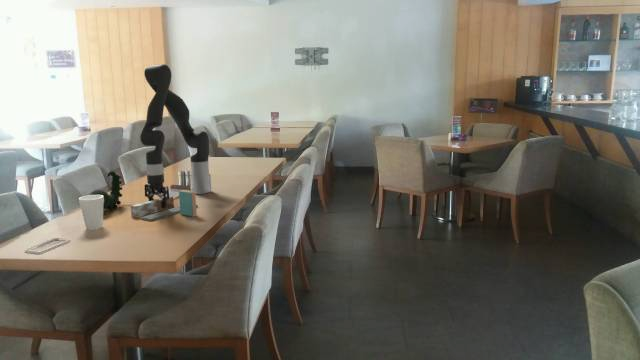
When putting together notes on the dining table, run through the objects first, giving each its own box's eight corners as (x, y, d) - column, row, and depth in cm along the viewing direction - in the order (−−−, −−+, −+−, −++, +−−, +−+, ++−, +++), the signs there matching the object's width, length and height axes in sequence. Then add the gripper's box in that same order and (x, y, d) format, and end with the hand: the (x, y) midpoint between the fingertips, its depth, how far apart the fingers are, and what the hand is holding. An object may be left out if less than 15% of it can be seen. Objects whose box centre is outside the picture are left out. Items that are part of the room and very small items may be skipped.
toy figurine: (110, 207, 254) (80, 216, 229) (108, 169, 252) (77, 174, 227) (128, 208, 252) (99, 217, 228) (126, 169, 250) (97, 175, 226)
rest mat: (188, 205, 249) (188, 203, 249) (197, 207, 246) (197, 205, 245) (141, 219, 226) (141, 217, 225) (150, 221, 222) (150, 219, 222)
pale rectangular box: (169, 205, 249) (168, 195, 248) (173, 206, 247) (173, 196, 246) (131, 216, 231) (130, 205, 230) (136, 217, 229) (135, 206, 228)
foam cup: (111, 225, 217) (108, 195, 215) (95, 231, 209) (92, 200, 206) (93, 223, 220) (90, 194, 218) (77, 229, 212) (73, 199, 209)
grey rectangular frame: (40, 255, 183) (71, 242, 197) (40, 251, 183) (71, 238, 197) (24, 253, 185) (56, 240, 199) (23, 249, 185) (55, 237, 199)
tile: (184, 213, 235) (182, 189, 233) (196, 215, 231) (195, 191, 229) (180, 214, 233) (178, 190, 231) (192, 216, 229) (191, 192, 227)
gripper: (172, 173, 237) (174, 207, 240) (151, 170, 245) (154, 203, 248) (159, 175, 231) (161, 210, 234) (138, 173, 239) (141, 206, 242)
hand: (157, 207), depth 241 cm, fingers open, 8 cm apart
